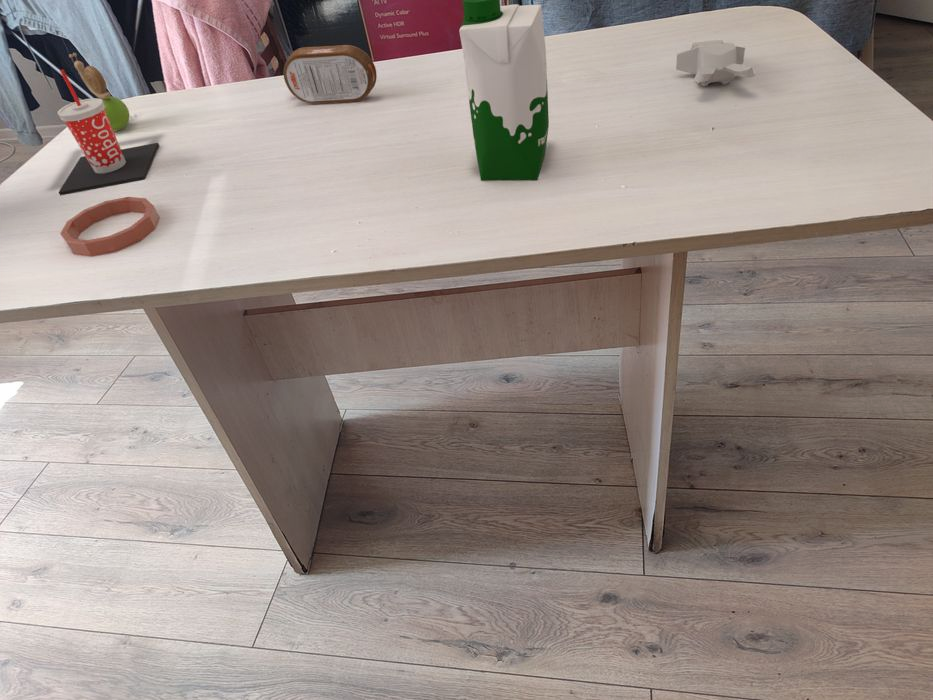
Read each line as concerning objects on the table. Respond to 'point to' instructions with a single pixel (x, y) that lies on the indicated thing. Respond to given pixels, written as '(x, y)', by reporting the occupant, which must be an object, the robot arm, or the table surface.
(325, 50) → the tin
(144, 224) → the reddish brown ring
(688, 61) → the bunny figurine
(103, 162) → the beverage cup
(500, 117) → the milk carton
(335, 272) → the table surface
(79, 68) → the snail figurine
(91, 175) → the mat
